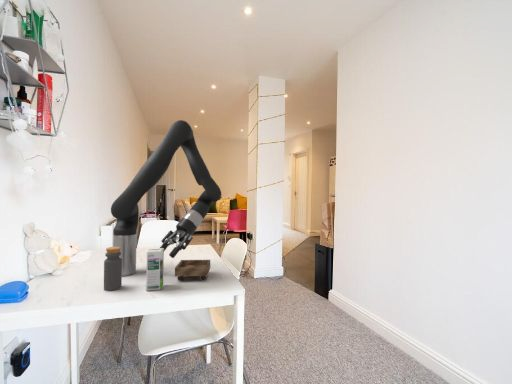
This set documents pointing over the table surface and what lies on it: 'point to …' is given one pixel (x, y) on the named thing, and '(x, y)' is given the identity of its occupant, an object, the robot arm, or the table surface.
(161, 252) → the syrup box
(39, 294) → the table surface
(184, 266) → the wooden toy cart
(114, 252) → the bottle
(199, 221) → the robot arm
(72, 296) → the table surface
